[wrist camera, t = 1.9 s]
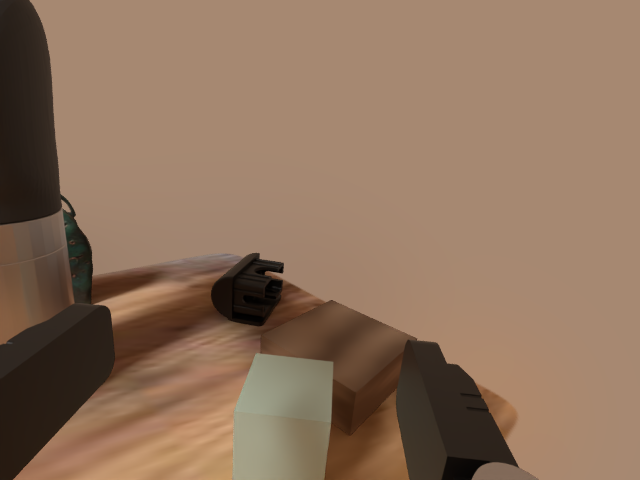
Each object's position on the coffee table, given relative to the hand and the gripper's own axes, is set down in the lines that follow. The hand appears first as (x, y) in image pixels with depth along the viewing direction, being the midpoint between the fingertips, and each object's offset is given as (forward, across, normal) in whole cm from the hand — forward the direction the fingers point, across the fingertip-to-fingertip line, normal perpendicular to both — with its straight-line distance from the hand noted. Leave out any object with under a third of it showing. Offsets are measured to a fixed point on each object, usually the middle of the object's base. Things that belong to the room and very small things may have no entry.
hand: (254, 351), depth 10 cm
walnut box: (+26, -4, +20) cm, 33 cm away
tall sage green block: (+11, 0, +20) cm, 23 cm away
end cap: (+39, +9, +20) cm, 45 cm away
